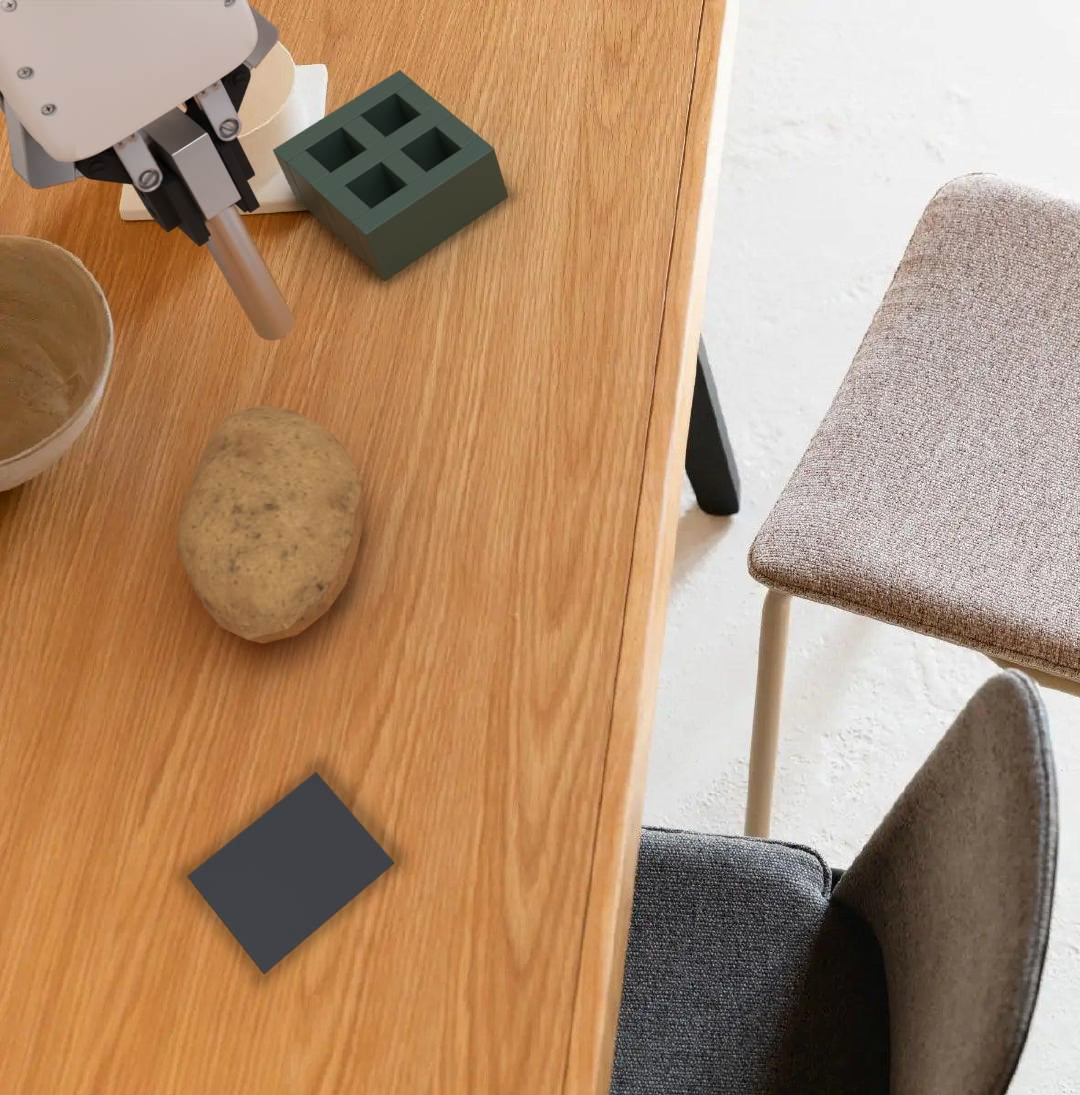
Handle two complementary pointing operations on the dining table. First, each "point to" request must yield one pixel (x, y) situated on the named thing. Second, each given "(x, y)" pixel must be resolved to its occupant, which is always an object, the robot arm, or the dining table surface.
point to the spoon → (220, 219)
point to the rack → (392, 174)
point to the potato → (271, 523)
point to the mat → (290, 871)
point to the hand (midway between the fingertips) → (211, 209)
